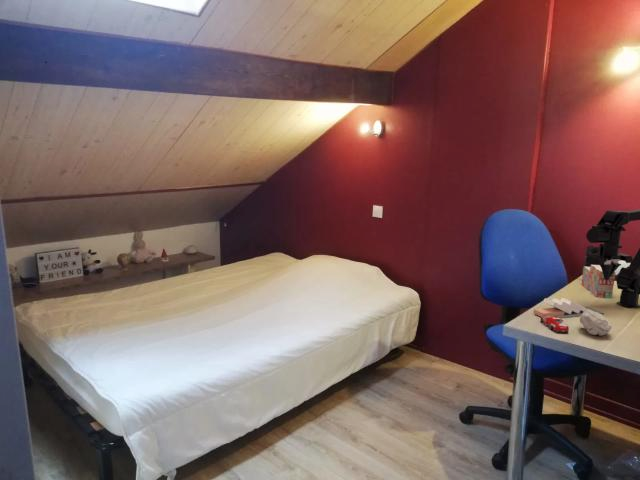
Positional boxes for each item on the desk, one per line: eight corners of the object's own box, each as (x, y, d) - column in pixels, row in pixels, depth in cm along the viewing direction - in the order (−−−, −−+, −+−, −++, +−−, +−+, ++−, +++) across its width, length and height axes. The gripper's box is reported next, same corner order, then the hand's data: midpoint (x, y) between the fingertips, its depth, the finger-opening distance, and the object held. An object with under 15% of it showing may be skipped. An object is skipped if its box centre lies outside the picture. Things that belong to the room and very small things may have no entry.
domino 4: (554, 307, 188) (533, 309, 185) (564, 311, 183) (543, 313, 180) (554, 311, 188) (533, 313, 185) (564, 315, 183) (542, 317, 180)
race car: (538, 321, 179) (539, 311, 178) (552, 321, 178) (553, 311, 178) (554, 334, 166) (556, 323, 165) (570, 334, 165) (571, 323, 165)
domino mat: (586, 307, 195) (587, 306, 195) (603, 313, 187) (603, 312, 187) (543, 311, 188) (543, 310, 188) (558, 318, 181) (558, 317, 181)
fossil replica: (594, 326, 174) (570, 330, 172) (594, 304, 173) (569, 308, 171) (620, 336, 162) (595, 340, 160) (621, 313, 161) (595, 316, 159)
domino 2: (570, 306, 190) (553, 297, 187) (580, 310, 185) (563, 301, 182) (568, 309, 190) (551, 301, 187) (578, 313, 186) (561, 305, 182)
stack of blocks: (581, 284, 230) (584, 260, 228) (595, 285, 229) (598, 260, 226) (596, 297, 209) (600, 270, 207) (612, 298, 208) (615, 271, 206)
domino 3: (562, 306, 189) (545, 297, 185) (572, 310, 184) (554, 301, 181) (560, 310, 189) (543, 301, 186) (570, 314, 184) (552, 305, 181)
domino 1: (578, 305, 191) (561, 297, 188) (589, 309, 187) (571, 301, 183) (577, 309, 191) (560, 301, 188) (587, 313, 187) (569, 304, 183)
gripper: (611, 237, 200) (606, 273, 203) (576, 239, 194) (572, 276, 197) (636, 242, 190) (630, 280, 192) (599, 244, 184) (594, 283, 187)
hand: (606, 279), depth 193 cm, fingers closed
